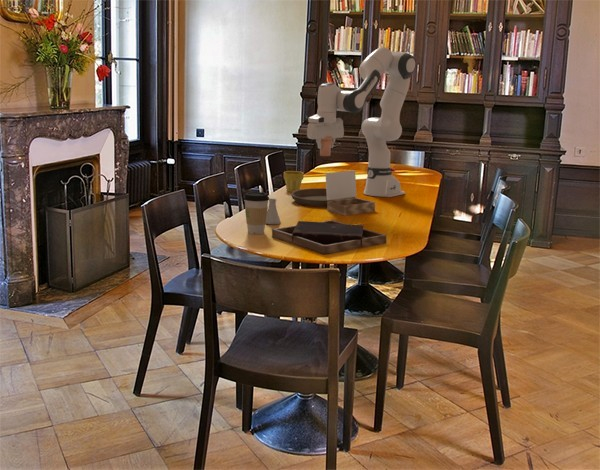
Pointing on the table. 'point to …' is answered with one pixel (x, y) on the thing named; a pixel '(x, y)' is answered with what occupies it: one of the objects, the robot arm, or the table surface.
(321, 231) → the diary
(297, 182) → the plant pot
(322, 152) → the pot
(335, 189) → the upright grey panel
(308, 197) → the plant saucer
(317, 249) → the desk tray
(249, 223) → the coffee cup
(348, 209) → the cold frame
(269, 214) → the flask
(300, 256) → the table surface
